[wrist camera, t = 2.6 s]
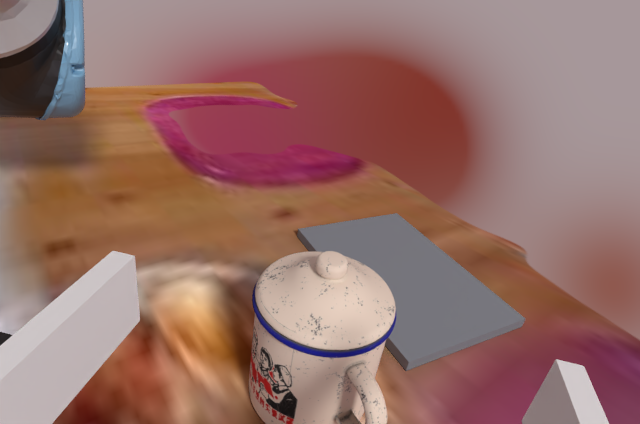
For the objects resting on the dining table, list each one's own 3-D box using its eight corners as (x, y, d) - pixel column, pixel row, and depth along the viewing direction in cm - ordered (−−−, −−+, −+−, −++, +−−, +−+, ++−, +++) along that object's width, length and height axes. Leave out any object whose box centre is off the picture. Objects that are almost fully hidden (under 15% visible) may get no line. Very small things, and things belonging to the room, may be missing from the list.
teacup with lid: (228, 358, 33) (235, 228, 27) (333, 330, 37) (358, 212, 31) (291, 521, 24) (321, 377, 18) (420, 459, 28) (477, 327, 22)
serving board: (297, 236, 49) (298, 228, 48) (395, 220, 55) (396, 213, 55) (405, 370, 34) (408, 362, 34) (521, 326, 41) (525, 318, 40)
